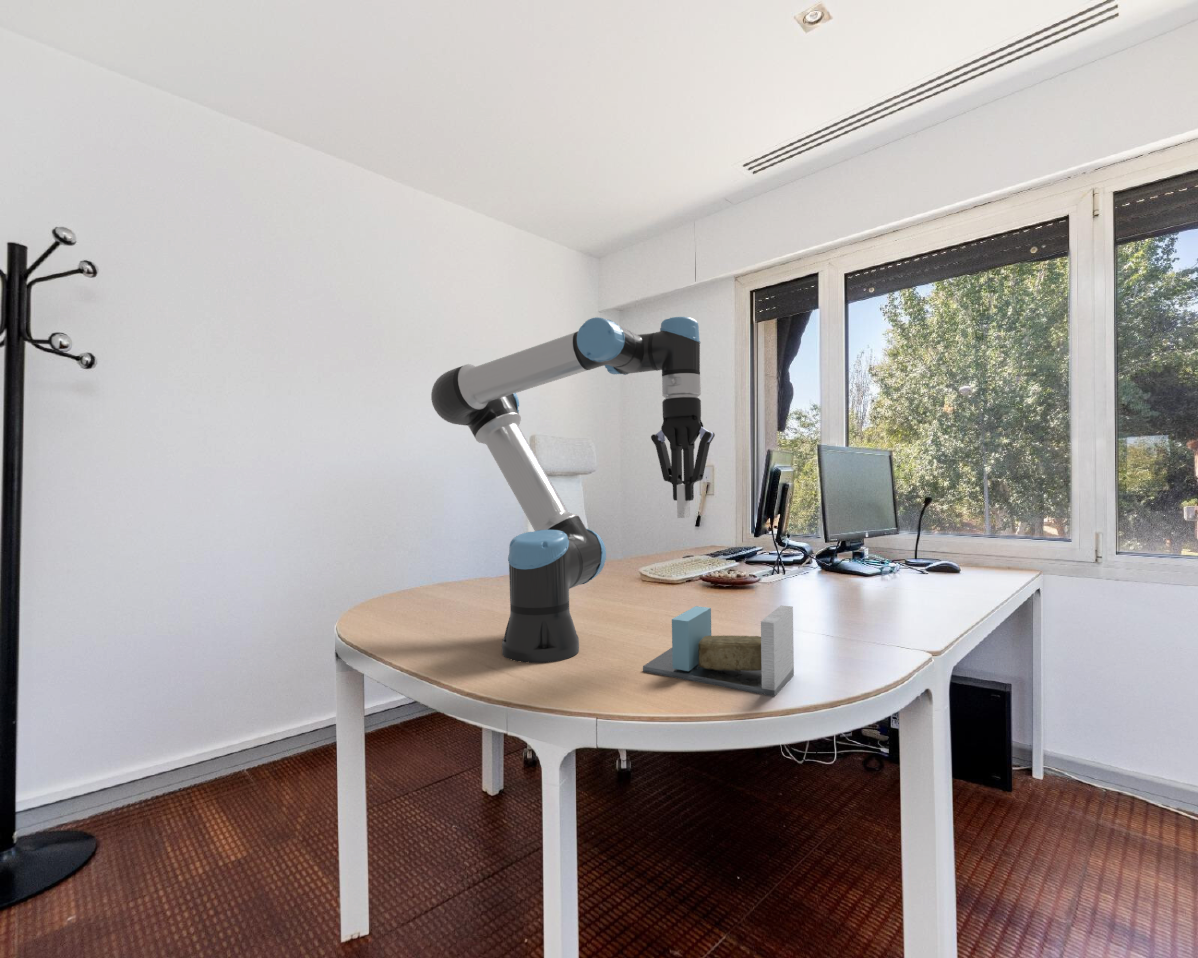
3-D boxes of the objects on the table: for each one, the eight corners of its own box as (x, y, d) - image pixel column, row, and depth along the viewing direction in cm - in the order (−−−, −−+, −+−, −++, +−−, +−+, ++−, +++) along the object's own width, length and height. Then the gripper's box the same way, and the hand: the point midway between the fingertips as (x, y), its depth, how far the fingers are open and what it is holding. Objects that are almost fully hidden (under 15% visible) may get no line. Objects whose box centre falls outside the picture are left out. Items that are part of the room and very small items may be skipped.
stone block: (767, 673, 94) (764, 642, 94) (697, 672, 98) (694, 642, 98) (769, 662, 99) (766, 633, 99) (702, 661, 103) (700, 633, 103)
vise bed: (642, 674, 102) (641, 606, 101) (671, 655, 112) (670, 593, 112) (774, 700, 89) (773, 623, 89) (793, 675, 100) (792, 606, 99)
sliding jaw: (672, 668, 99) (671, 619, 99) (696, 651, 108) (695, 606, 108) (688, 671, 98) (687, 621, 98) (711, 653, 107) (710, 607, 107)
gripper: (643, 399, 114) (645, 518, 115) (705, 393, 107) (707, 519, 108) (660, 402, 121) (662, 515, 121) (719, 397, 114) (721, 516, 114)
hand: (683, 517), depth 115 cm, fingers closed
